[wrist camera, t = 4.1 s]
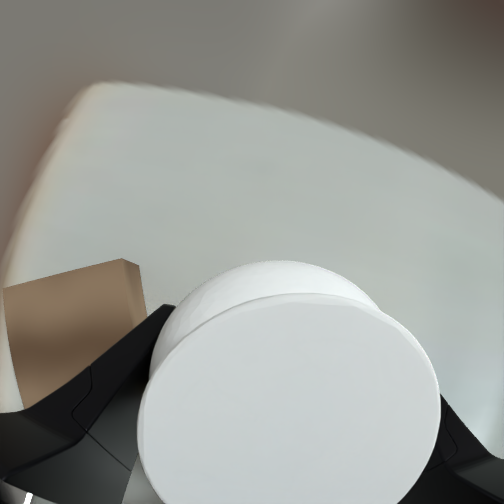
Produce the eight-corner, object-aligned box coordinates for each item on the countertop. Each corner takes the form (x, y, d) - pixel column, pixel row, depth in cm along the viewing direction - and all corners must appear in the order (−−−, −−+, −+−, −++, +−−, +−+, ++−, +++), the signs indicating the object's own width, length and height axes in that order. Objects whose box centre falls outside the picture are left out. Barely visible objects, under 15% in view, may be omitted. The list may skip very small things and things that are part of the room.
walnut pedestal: (174, 426, 15) (163, 442, 12) (52, 425, 14) (33, 434, 12) (138, 265, 17) (121, 258, 14) (24, 291, 16) (2, 288, 14)
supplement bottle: (184, 367, 16) (39, 473, 3) (239, 266, 17) (198, 138, 4) (287, 418, 15) (346, 590, 2) (342, 319, 16) (525, 327, 3)
